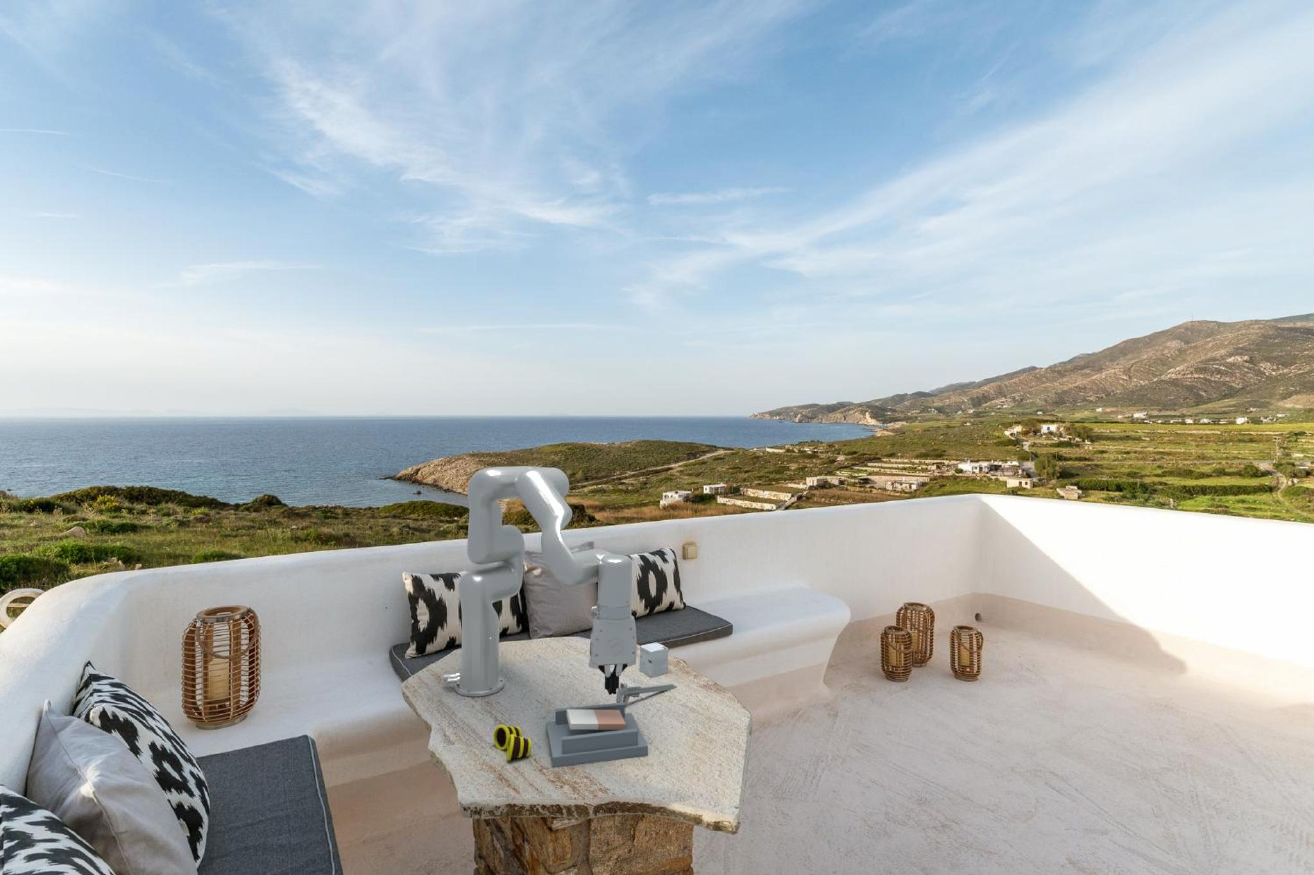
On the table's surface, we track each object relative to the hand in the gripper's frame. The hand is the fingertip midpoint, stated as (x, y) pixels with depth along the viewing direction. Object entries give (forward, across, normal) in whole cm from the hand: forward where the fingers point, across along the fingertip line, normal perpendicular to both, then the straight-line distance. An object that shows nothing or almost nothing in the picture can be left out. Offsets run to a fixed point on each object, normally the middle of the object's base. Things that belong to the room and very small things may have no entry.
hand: (611, 692), depth 138 cm
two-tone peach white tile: (+6, -4, -2) cm, 7 cm away
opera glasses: (+11, -21, -1) cm, 24 cm away
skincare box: (+11, +19, +34) cm, 41 cm away
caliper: (+11, +13, +18) cm, 25 cm away
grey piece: (+10, -4, -2) cm, 11 cm away
